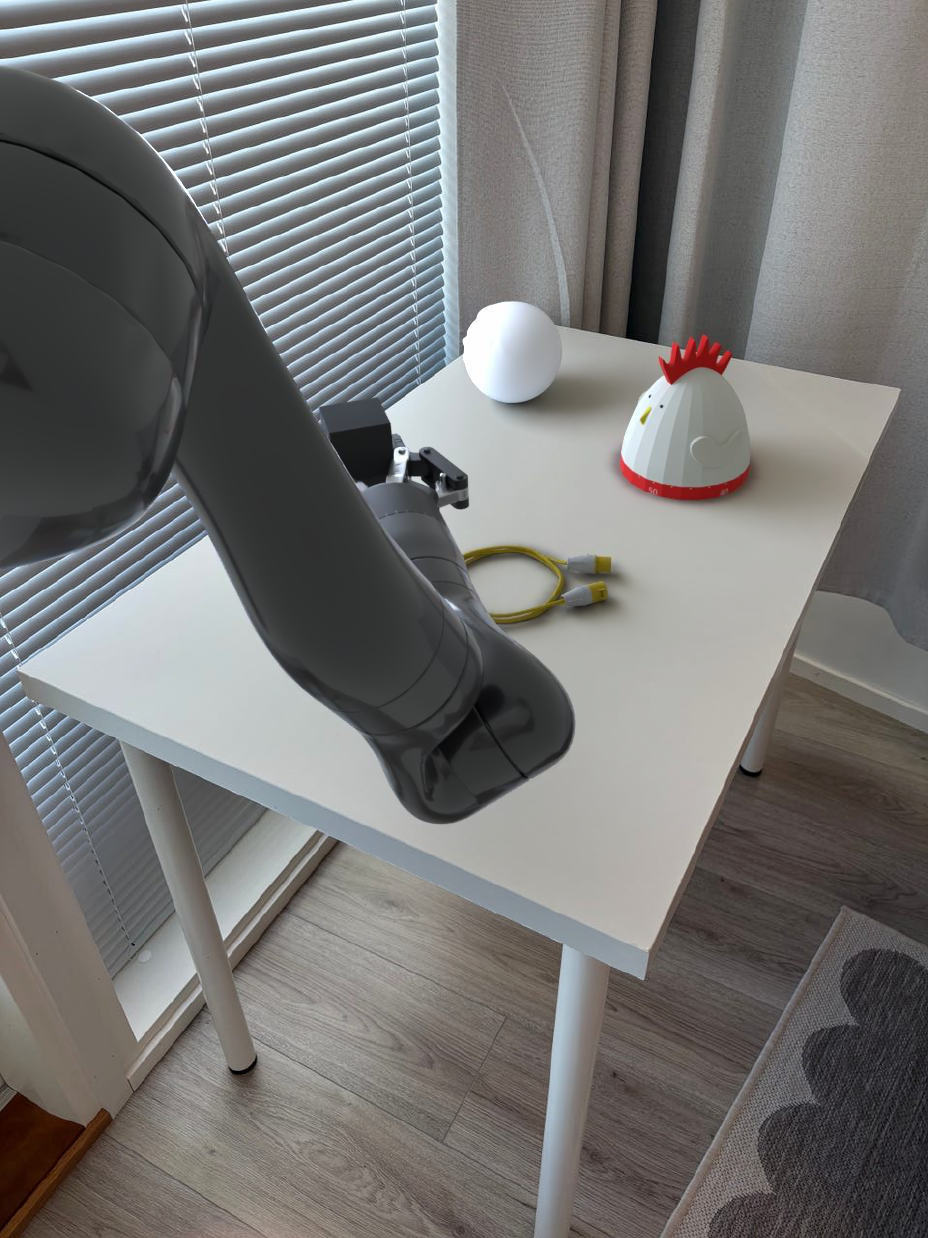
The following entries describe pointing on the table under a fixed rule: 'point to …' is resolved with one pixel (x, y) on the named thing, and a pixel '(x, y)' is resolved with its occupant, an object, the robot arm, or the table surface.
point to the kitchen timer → (688, 429)
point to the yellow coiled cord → (571, 598)
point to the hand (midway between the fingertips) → (352, 445)
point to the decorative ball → (512, 351)
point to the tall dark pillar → (359, 436)
